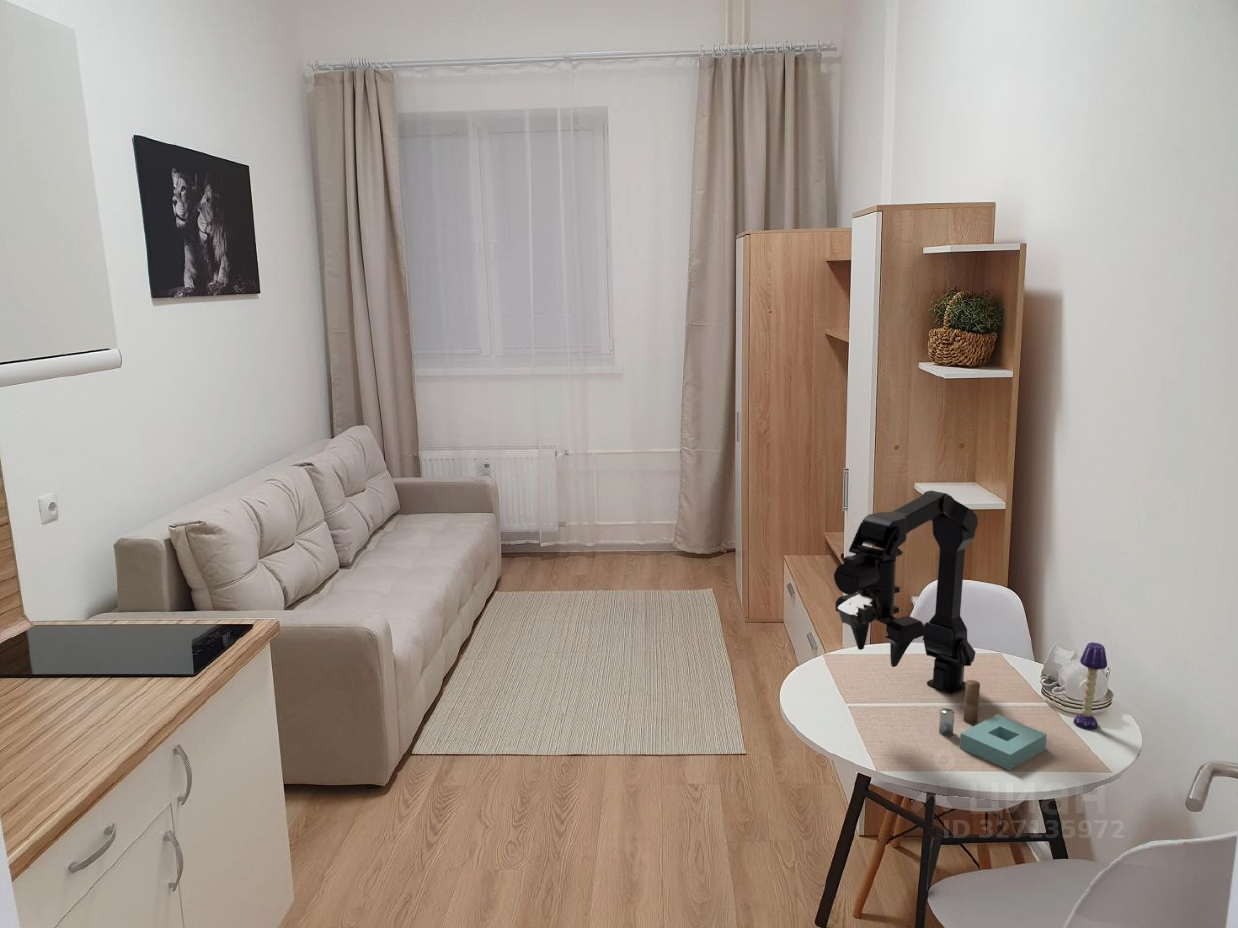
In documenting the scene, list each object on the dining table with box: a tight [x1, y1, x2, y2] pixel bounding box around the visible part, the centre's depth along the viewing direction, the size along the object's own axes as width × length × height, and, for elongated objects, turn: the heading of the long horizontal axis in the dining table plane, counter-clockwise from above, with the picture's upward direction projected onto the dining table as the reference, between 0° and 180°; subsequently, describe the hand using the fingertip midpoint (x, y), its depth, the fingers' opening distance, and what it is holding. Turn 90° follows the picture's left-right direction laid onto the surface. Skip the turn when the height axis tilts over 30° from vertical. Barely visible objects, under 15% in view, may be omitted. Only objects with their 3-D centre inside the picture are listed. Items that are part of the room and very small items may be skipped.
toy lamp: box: [1073, 641, 1108, 730], centre depth 181 cm, size 5×5×17 cm
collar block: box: [959, 714, 1048, 771], centre depth 174 cm, size 12×10×3 cm
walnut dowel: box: [963, 679, 981, 725], centre depth 184 cm, size 3×3×8 cm
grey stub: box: [938, 707, 955, 737], centre depth 180 cm, size 3×3×4 cm
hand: (877, 657), depth 181 cm, fingers open, 9 cm apart
